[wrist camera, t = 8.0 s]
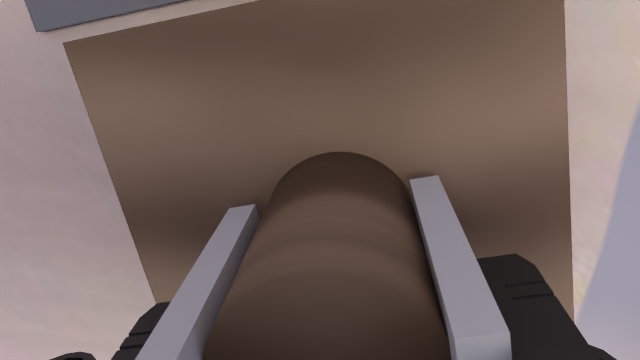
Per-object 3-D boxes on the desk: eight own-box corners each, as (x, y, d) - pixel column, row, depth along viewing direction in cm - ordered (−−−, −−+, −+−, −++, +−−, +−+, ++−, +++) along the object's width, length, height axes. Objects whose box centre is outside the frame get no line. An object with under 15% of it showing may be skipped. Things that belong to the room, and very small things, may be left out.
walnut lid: (85, 39, 14) (-189, 78, 7) (543, -59, 13) (790, -141, 5) (204, 386, 19) (107, 631, 11) (561, 349, 17) (712, 609, 10)
